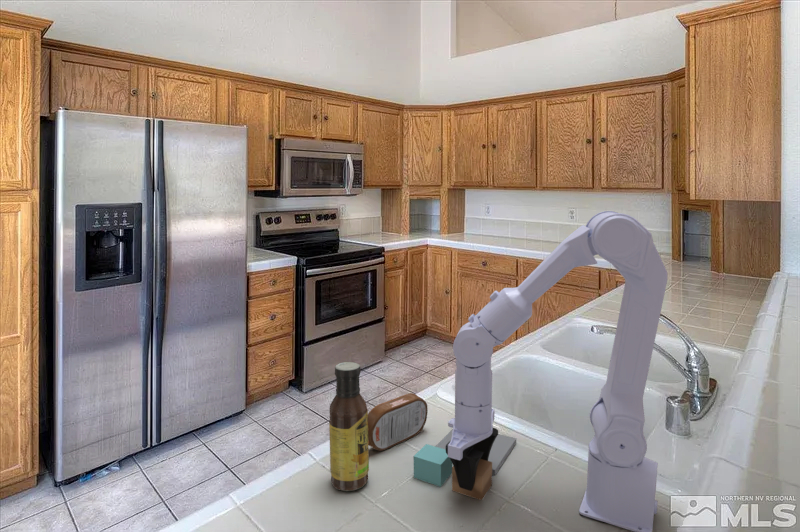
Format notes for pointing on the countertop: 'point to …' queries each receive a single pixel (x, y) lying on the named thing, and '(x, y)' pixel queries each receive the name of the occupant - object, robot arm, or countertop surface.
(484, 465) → the walnut brick
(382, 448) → the tin
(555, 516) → the countertop surface
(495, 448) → the baseplate
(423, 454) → the teal brick
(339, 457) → the sauce bottle
